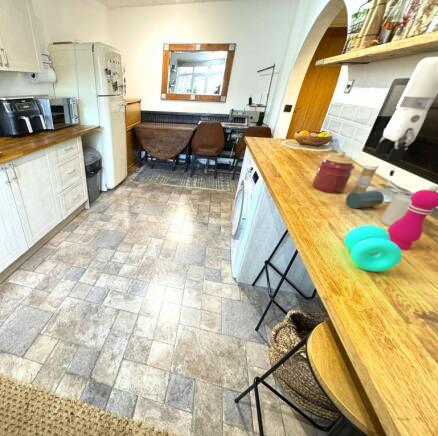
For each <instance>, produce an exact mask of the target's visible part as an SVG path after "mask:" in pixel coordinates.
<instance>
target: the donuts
mask: <svg viewBox="0 0 438 436" xmlns="http://www.w3.org/2000/svg"><path fill="white" fill-rule="evenodd" d="M343 244H344V246H345V248H346V250H348V251H349V252H350V259H351V261H352V262H353V264H354V265H355V266H356V267H358V268H359V269H362V270H364V271H368V272H374V273H375V272H384V271H387V270H388V271H389V270H391V269H393V268H395V267H397V266H398V264H399V263H400V261H401V260H402V255H403V254H402V249H400V248H399V247H398V246H397V245H396V244H395V243H393V242H391V241H390V236H389V233H388V231H387V230H385V229H384V228H382V227H380V226H377V225H371V224H364V225H360V226H359V225H358V226H356V227H354V228H352V229H350V230H349V231H348V232H347V233H346V234H345V236H344V240H343Z"/></svg>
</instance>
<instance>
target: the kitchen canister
mask: <svg viewBox="0 0 438 436" xmlns="http://www.w3.org/2000/svg"><path fill="white" fill-rule="evenodd" d="M355 163H356V161H355V160H354V159H353V158H352V157H351V156H348V155H346V152H345V151H339V152H338V153H337V154H336V153H335V154H334V153H331V154H328V155H326V156H324V159H323V160H321V161H320V166H319V167H318V168H317V171H316V174H315V177H314V179H313V180H312V185H311V186H312V188H315V189H316V190H318V191H321V192H324V193H330V194H342V193H343V192H344V191H345V190H346V186H347V184H348V182H349V180H350V177H351V176H352V171H353V170H354V169H355V168H356V167H355V165H354V164H355Z"/></svg>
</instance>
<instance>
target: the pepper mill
mask: <svg viewBox="0 0 438 436" xmlns="http://www.w3.org/2000/svg"><path fill="white" fill-rule="evenodd" d="M413 193H414V194H413V195H412V196H411V201H412V203H410V204H409V206H408V207H407V208H408V211H407V213H406V214H405V215H404V216H403V217H402V218H401V219H399V220H397V221H396V222H394V223H393V224H392V225H390V227H389V226H388V228H387V233H388V234H389V236H390V241H391V242H393V243H395V244H396V245H397V246H398V247H399V248H400V250H401V251H403V250H404V251H408V250H411V247H412V246H413V243H414V242H417V241H419V240H420V239H421V237H422V235H423V222H424V220H425V219H426V217H427V216H428V215H431V214H432V212H434V208H438V185H430V186H429V187H428V189H419V190H417V191H415V192H413Z"/></svg>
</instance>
